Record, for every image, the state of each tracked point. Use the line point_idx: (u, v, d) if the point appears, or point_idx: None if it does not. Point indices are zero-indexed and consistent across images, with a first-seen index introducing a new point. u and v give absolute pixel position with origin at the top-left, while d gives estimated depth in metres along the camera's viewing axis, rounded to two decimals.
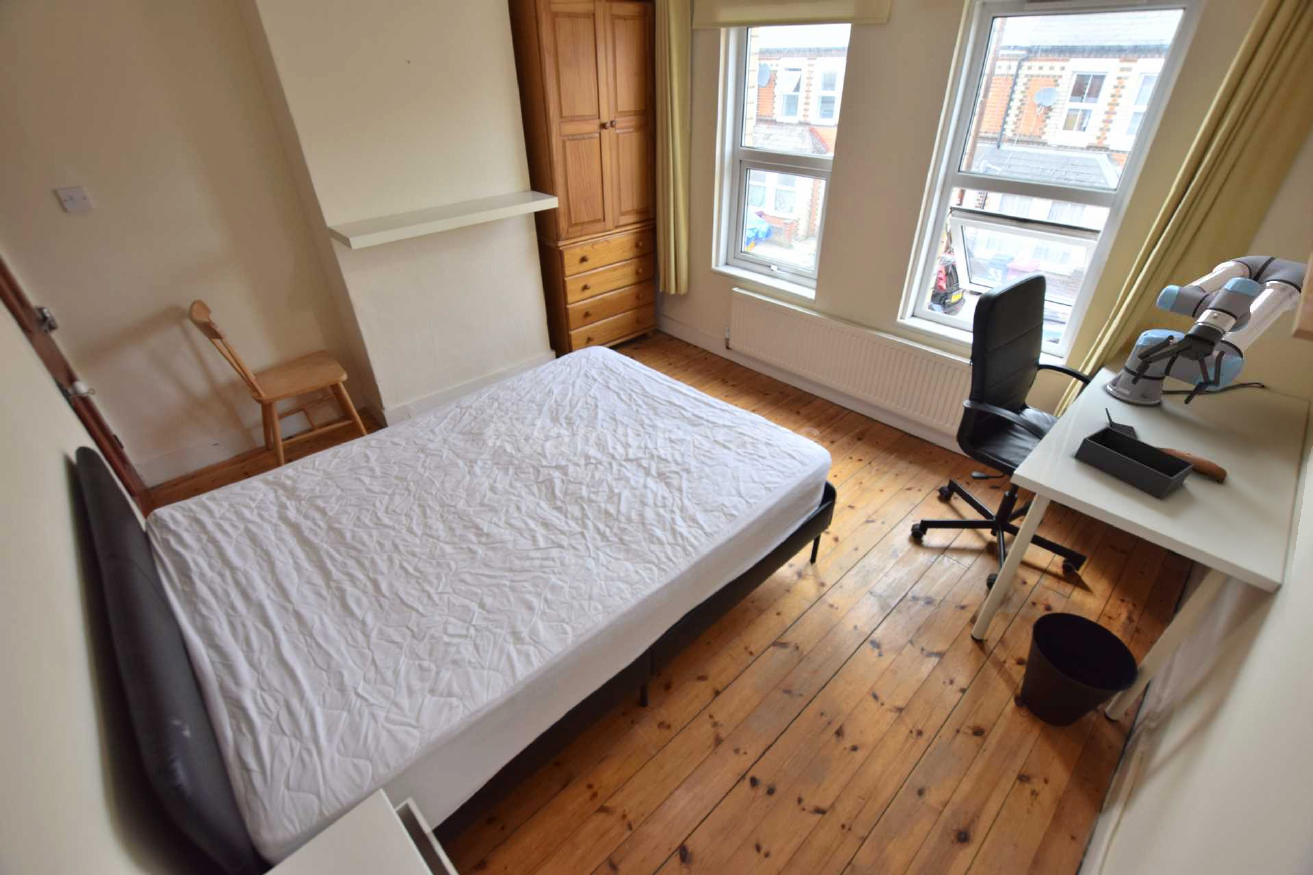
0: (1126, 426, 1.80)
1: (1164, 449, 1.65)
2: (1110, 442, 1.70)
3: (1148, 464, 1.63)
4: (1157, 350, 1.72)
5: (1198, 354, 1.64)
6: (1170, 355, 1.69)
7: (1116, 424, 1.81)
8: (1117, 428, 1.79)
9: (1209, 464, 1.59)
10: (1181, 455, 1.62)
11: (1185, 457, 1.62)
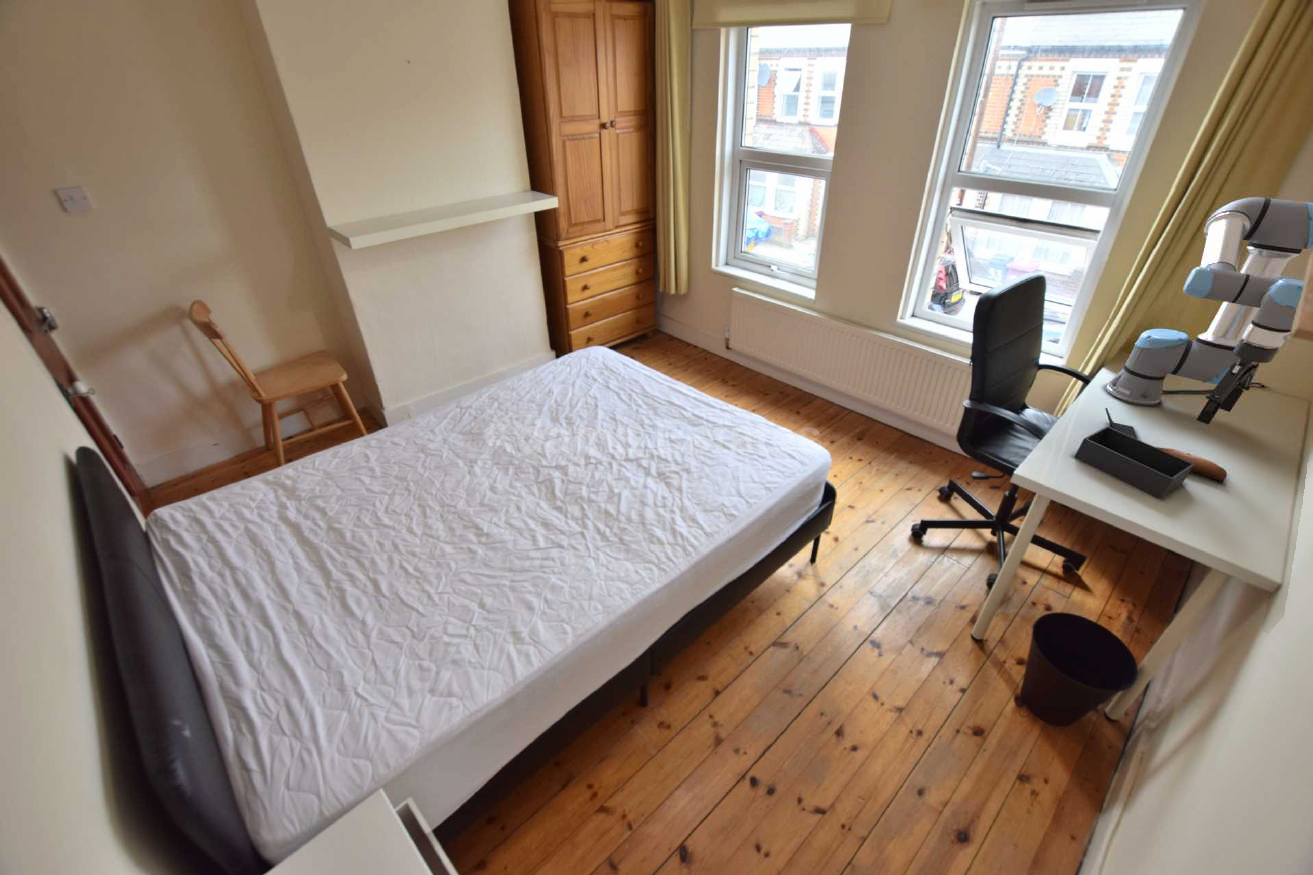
0: (1126, 426, 1.80)
1: (1164, 449, 1.65)
2: (1110, 442, 1.70)
3: (1148, 464, 1.63)
4: None
5: (1253, 372, 1.48)
6: None
7: (1116, 424, 1.81)
8: (1117, 428, 1.79)
9: (1209, 464, 1.59)
10: (1181, 455, 1.62)
11: (1185, 457, 1.62)
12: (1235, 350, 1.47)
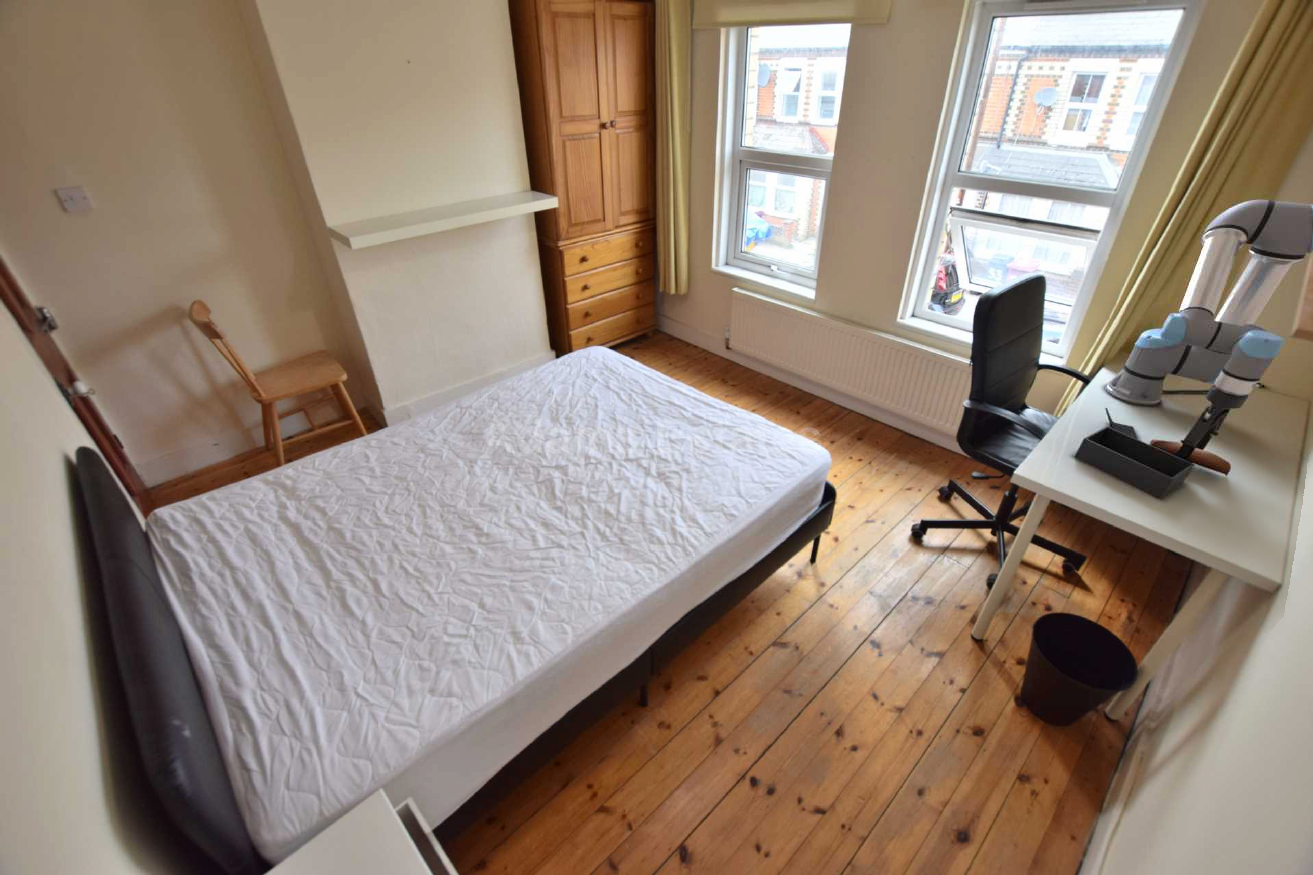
0: (1126, 426, 1.80)
1: (1168, 442, 1.64)
2: (1110, 442, 1.70)
3: (1148, 464, 1.63)
4: None
5: (1225, 415, 1.56)
6: None
7: (1116, 424, 1.81)
8: (1117, 428, 1.79)
9: (1213, 457, 1.58)
10: None
11: None
12: (1207, 395, 1.54)
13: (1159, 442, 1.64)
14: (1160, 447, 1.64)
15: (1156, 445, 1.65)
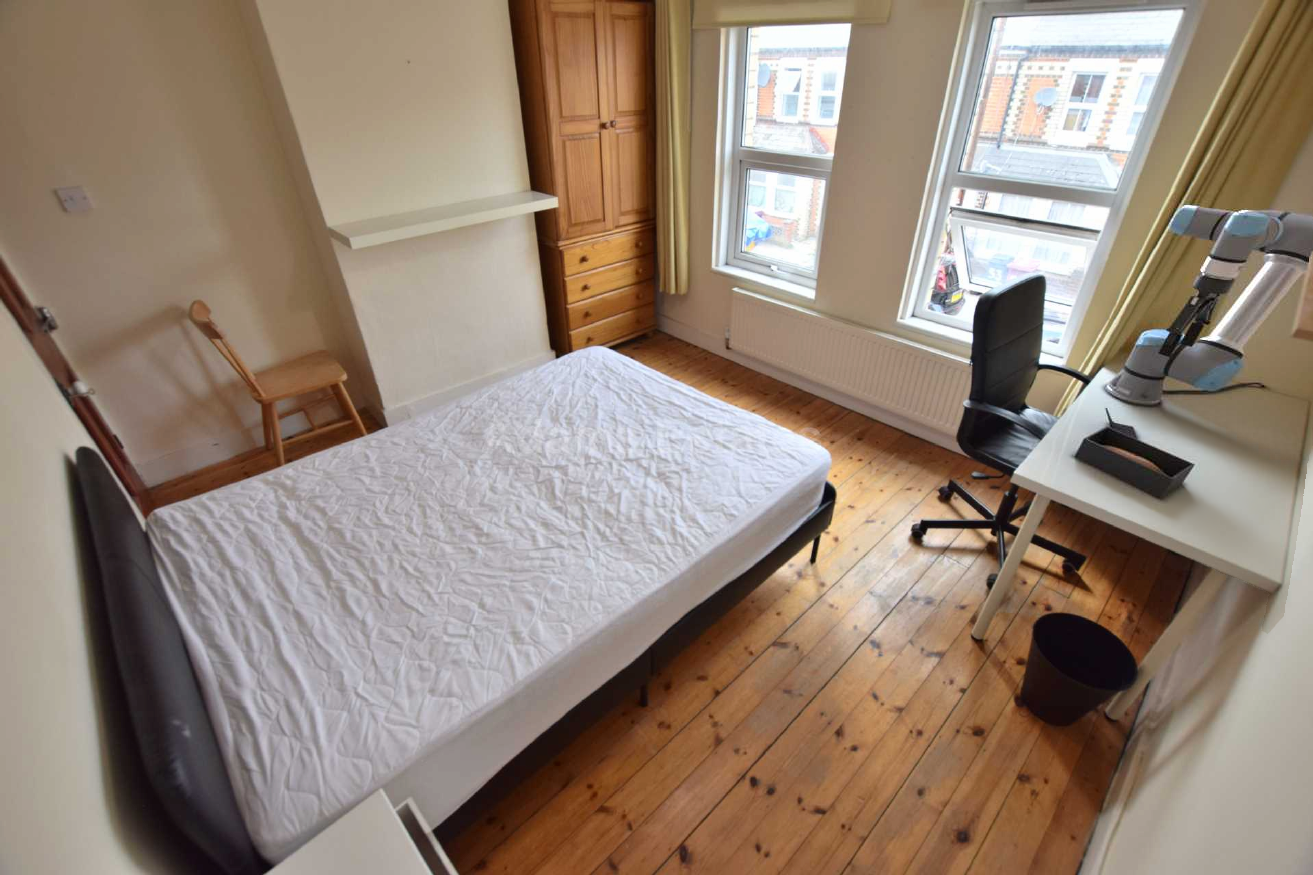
0: (1126, 426, 1.80)
1: (1107, 447, 1.64)
2: (1110, 442, 1.70)
3: None
4: None
5: (1211, 305, 1.55)
6: None
7: (1116, 424, 1.81)
8: (1117, 428, 1.79)
9: (1148, 465, 1.57)
10: (1122, 454, 1.61)
11: (1126, 456, 1.60)
12: (1194, 283, 1.53)
13: None
14: None
15: None
